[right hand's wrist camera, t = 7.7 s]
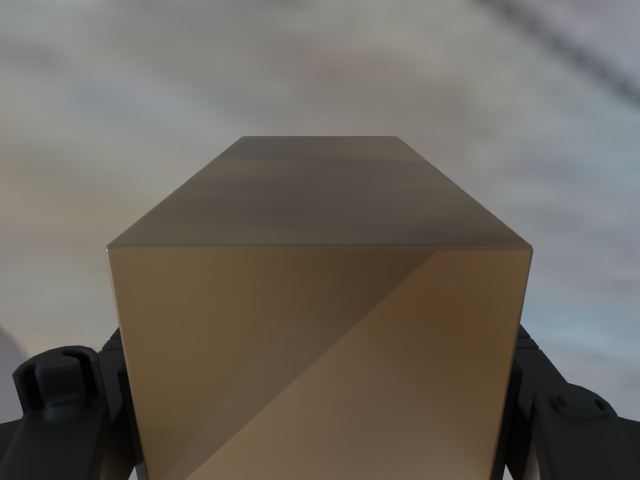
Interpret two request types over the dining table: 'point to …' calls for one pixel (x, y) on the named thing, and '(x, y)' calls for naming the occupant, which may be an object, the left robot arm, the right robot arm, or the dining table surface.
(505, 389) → the block
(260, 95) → the dining table surface
